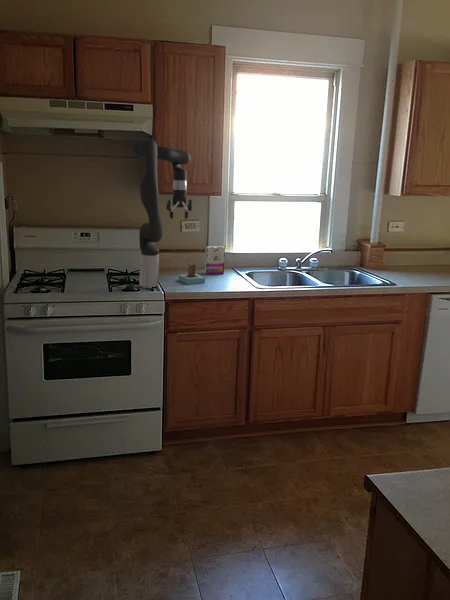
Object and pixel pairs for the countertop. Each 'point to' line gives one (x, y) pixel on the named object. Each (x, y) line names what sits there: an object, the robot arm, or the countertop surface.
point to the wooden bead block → (191, 279)
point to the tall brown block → (191, 270)
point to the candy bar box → (214, 259)
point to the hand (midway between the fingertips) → (178, 218)
